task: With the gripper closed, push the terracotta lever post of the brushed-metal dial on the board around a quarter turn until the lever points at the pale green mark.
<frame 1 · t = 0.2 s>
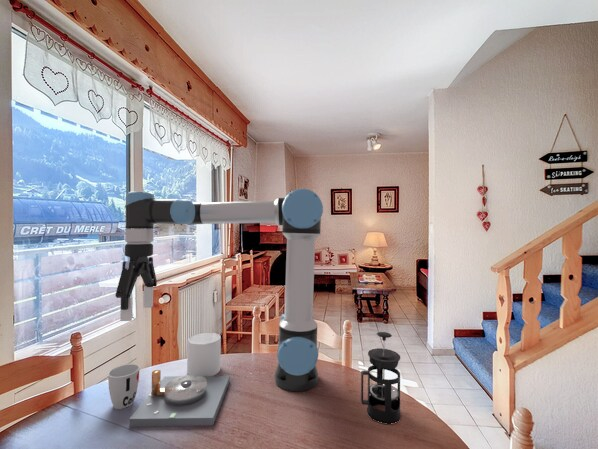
hand: (138, 313, 88), 27 cm above the table, fingers open, 13 cm apart
board: (185, 401, 88), on the table
dial: (179, 382, 88), point 6 cm above the table, hinge at 0.0°
cup 2: (204, 371, 107), on the table
cup: (123, 404, 87), on the table
french press: (381, 414, 84), on the table
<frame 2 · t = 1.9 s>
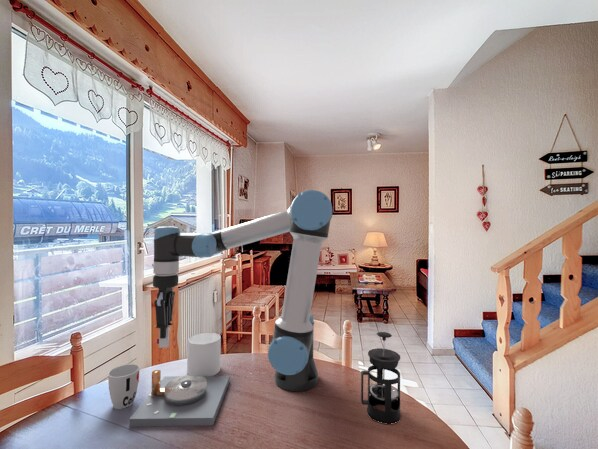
hand: (164, 346, 94), 14 cm above the table, fingers closed
nothing on the table moved.
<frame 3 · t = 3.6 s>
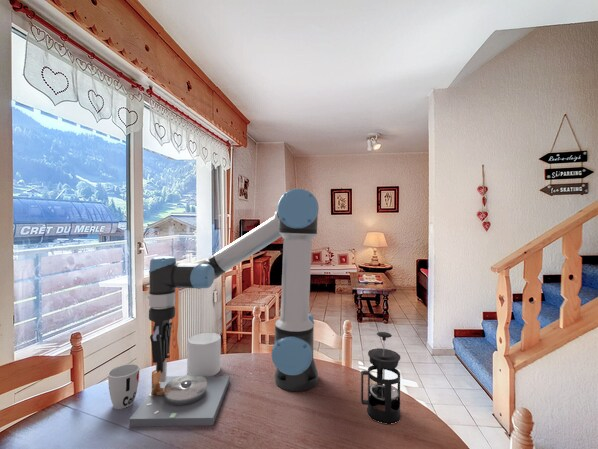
hand: (161, 380, 92), 4 cm above the table, fingers closed
dial: (179, 382, 88), point 6 cm above the table, hinge at 0.1°, touching gripper
everything else where it was.
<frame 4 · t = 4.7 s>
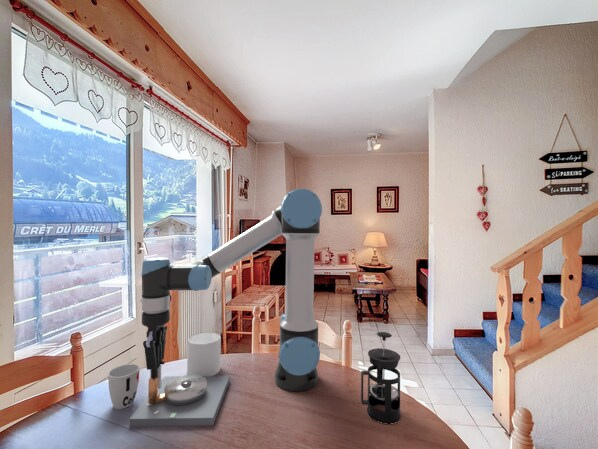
hand: (155, 388, 87), 5 cm above the table, fingers closed
dial: (178, 384, 87), point 6 cm above the table, hinge at 28.1°, touching gripper
everything else where it was.
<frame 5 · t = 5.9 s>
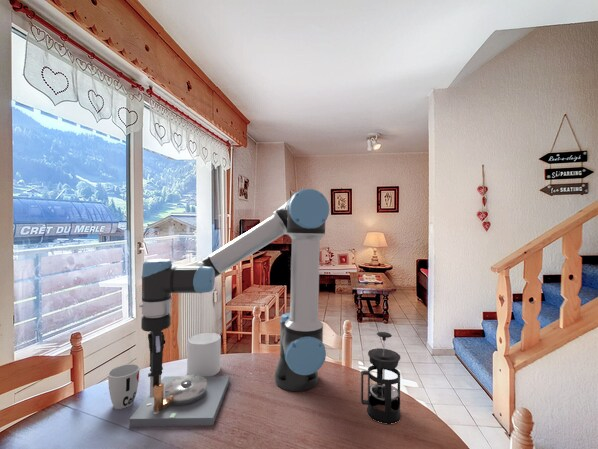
hand: (155, 395, 83), 5 cm above the table, fingers closed
dial: (180, 385, 87), point 6 cm above the table, hinge at 57.7°, touching gripper
everything else where it was.
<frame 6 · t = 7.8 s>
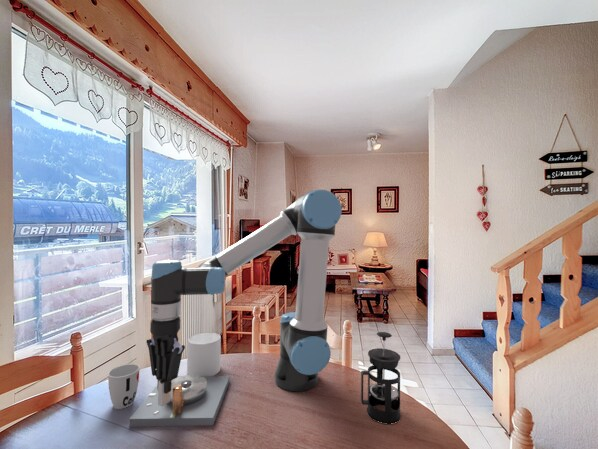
hand: (164, 403, 80), 5 cm above the table, fingers closed
dial: (184, 385, 86), point 6 cm above the table, hinge at 94.8°
everything else where it was.
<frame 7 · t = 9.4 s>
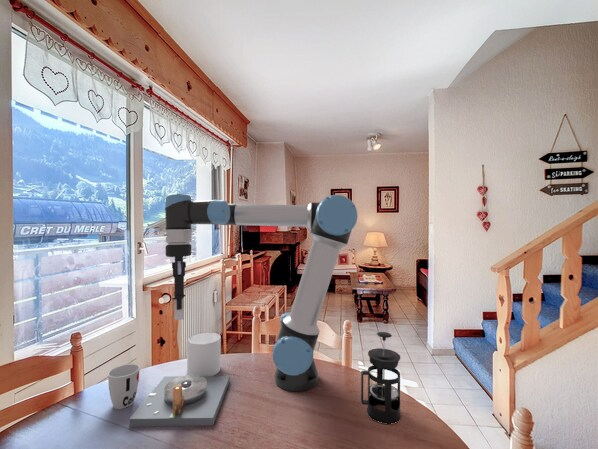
hand: (179, 319, 91), 24 cm above the table, fingers closed
nothing on the table moved.
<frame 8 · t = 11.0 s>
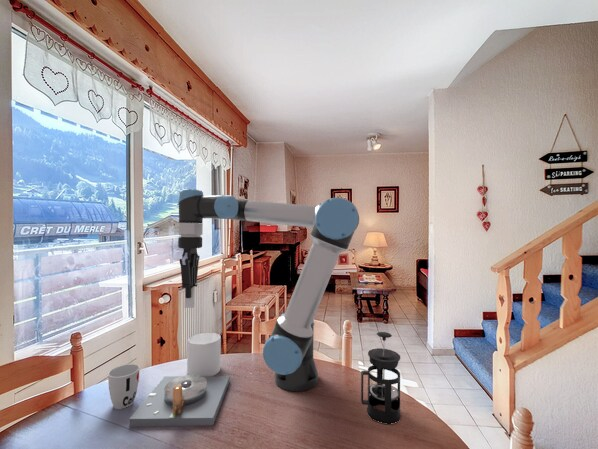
hand: (189, 307, 97), 26 cm above the table, fingers closed
nothing on the table moved.
at the end: dial at +95° (first picture: +0°) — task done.
